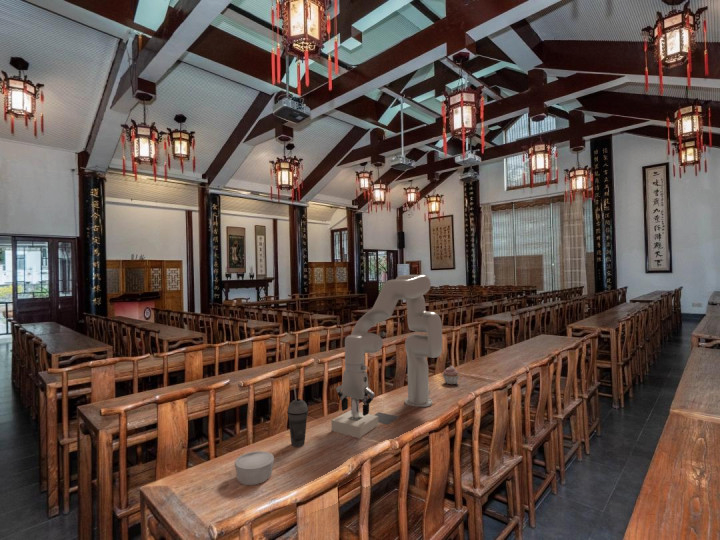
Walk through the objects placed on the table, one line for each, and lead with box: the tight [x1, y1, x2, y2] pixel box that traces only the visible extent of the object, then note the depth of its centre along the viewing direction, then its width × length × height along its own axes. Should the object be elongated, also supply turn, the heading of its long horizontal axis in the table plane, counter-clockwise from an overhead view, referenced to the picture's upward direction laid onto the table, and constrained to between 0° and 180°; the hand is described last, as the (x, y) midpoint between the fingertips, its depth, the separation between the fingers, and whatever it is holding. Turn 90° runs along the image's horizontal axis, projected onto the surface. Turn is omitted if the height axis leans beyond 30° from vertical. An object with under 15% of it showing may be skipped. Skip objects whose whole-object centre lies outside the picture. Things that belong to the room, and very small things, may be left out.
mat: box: [374, 411, 400, 425], centre depth 154 cm, size 10×10×1 cm
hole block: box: [331, 409, 379, 439], centre depth 145 cm, size 13×13×4 cm
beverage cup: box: [287, 386, 309, 448], centre depth 132 cm, size 7×7×20 cm
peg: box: [350, 397, 360, 421], centre depth 145 cm, size 3×3×12 cm
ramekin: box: [234, 450, 275, 486], centre depth 110 cm, size 11×11×5 cm
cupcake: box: [441, 365, 461, 386], centre depth 206 cm, size 9×9×10 cm
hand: (355, 412), depth 145 cm, fingers open, 9 cm apart
